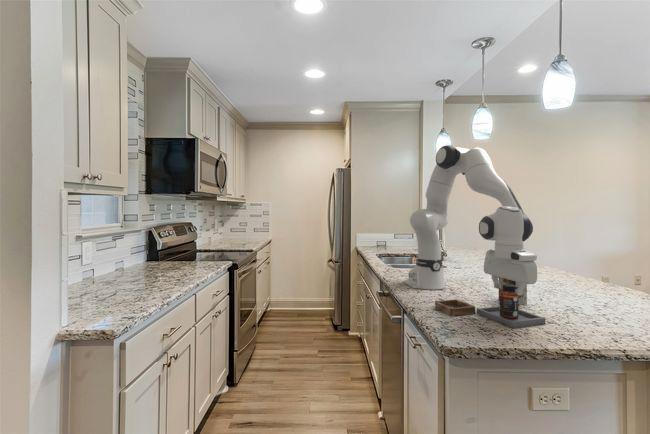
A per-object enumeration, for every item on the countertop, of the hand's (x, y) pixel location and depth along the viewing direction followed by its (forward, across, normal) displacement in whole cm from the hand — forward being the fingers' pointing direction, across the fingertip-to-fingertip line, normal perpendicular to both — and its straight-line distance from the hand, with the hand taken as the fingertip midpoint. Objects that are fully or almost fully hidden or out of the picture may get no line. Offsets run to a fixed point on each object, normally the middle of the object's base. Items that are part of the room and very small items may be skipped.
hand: (507, 291), depth 118 cm
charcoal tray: (+10, 0, 0) cm, 10 cm away
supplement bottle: (+9, 0, 0) cm, 9 cm away
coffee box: (+10, -17, +19) cm, 27 cm away
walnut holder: (+10, -13, -12) cm, 20 cm away
